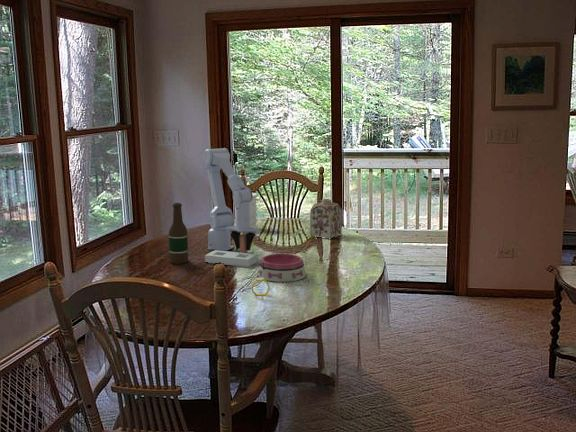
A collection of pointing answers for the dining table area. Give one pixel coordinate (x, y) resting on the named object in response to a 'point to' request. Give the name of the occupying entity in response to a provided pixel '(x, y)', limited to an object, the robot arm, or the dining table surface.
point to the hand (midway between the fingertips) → (243, 249)
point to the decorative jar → (325, 219)
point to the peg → (243, 244)
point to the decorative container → (253, 212)
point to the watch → (260, 281)
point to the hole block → (231, 258)
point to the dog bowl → (281, 268)
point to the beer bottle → (178, 237)
